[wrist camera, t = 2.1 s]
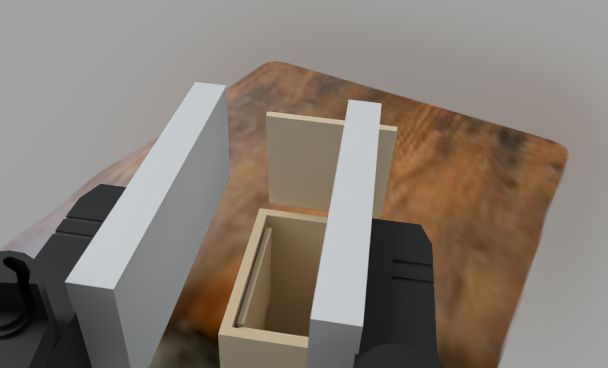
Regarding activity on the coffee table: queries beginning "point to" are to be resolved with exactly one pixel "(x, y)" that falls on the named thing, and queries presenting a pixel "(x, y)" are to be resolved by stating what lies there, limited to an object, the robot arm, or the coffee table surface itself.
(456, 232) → the coffee table surface
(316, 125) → the front flap
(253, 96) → the coffee table surface
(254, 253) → the carton
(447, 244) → the coffee table surface
